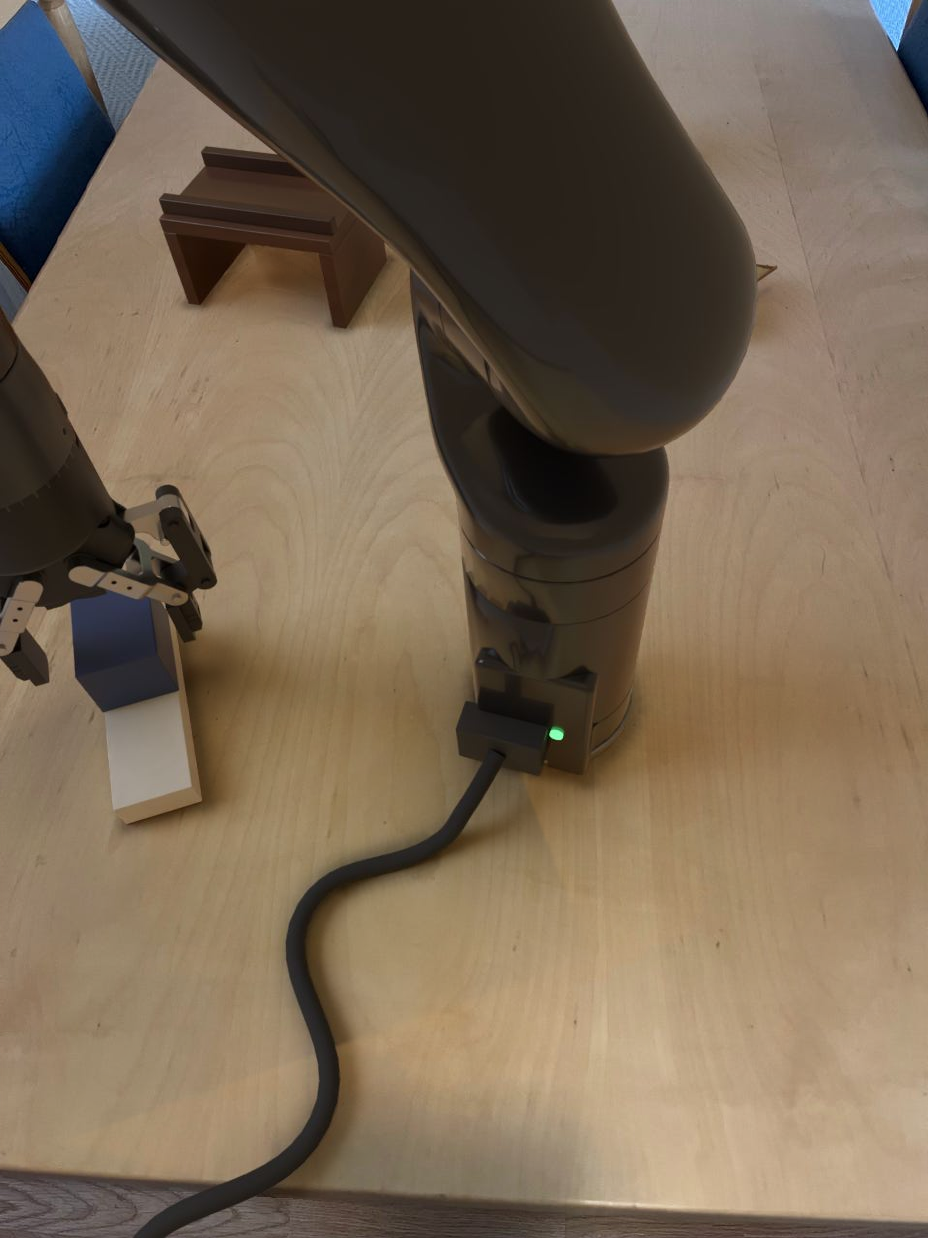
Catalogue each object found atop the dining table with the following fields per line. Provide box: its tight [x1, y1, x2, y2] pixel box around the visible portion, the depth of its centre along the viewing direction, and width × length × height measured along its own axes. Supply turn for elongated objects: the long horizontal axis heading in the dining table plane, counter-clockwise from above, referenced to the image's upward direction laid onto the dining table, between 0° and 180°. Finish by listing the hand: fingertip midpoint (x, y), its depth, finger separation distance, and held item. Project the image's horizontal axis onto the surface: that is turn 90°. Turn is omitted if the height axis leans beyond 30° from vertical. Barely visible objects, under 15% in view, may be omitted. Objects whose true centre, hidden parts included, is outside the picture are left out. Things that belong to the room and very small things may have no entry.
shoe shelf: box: [158, 145, 388, 329], centre depth 77 cm, size 10×15×9 cm, turn 72°
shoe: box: [69, 589, 203, 825], centre depth 53 cm, size 13×5×6 cm, turn 17°
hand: (117, 651), depth 53 cm, fingers open, 8 cm apart
